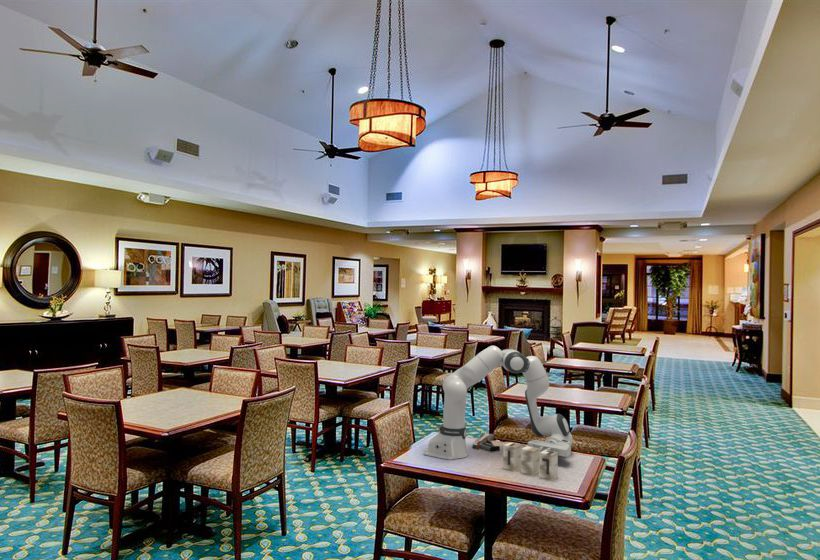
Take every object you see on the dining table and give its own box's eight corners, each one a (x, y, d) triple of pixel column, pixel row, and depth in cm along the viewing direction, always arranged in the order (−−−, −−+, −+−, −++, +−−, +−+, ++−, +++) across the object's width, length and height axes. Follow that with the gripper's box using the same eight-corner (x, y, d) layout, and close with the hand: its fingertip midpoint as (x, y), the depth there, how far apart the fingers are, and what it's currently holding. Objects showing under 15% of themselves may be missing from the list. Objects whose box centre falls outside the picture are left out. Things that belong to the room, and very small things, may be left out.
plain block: (520, 473, 234) (520, 448, 235) (526, 469, 239) (526, 445, 239) (533, 476, 230) (533, 451, 231) (538, 472, 235) (538, 448, 236)
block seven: (539, 477, 228) (539, 452, 229) (545, 474, 233) (545, 449, 234) (551, 481, 225) (552, 455, 225) (557, 477, 229) (557, 452, 230)
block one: (503, 468, 240) (503, 444, 240) (509, 465, 245) (509, 442, 245) (514, 471, 236) (514, 447, 236) (521, 468, 241) (521, 444, 241)
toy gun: (497, 454, 264) (469, 450, 270) (509, 440, 290) (483, 437, 296) (497, 448, 264) (469, 444, 270) (509, 435, 290) (483, 431, 296)
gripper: (534, 435, 262) (521, 441, 251) (573, 442, 249) (562, 449, 238) (534, 447, 262) (521, 454, 251) (573, 455, 249) (562, 462, 238)
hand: (541, 451), depth 244 cm, fingers closed
